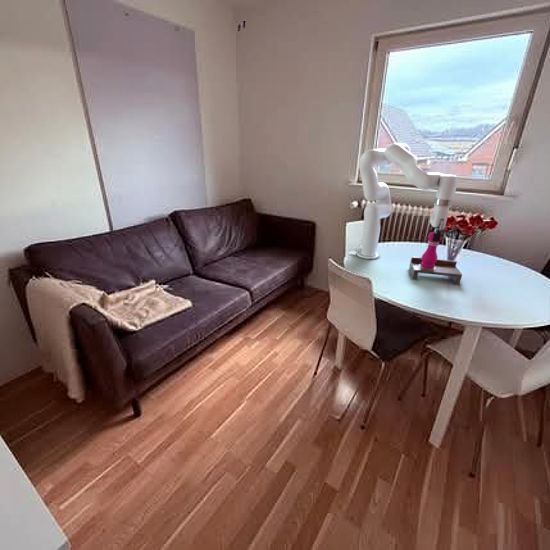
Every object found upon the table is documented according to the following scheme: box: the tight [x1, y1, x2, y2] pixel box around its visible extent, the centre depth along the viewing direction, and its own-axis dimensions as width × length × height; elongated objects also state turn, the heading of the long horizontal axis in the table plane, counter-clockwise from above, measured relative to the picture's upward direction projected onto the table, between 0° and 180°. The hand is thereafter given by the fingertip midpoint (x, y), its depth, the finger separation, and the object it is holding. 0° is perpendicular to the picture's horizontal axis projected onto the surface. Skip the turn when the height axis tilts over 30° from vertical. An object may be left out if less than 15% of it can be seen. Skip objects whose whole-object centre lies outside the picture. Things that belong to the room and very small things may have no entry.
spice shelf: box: [408, 256, 463, 285], centre depth 160 cm, size 22×12×8 cm, turn 77°
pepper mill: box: [420, 228, 443, 269], centre depth 155 cm, size 7×7×20 cm
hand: (434, 238), depth 153 cm, fingers closed on pepper mill, 6 cm apart
